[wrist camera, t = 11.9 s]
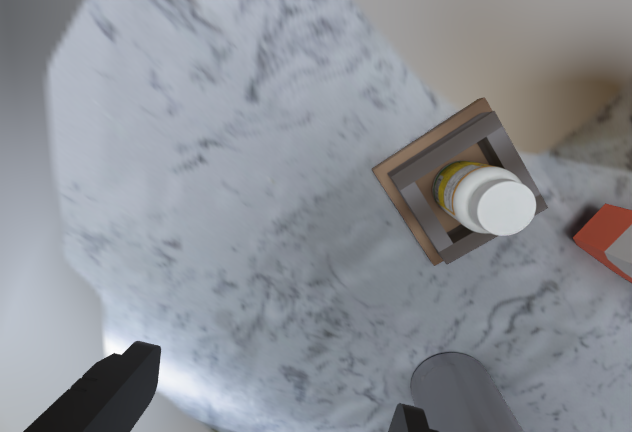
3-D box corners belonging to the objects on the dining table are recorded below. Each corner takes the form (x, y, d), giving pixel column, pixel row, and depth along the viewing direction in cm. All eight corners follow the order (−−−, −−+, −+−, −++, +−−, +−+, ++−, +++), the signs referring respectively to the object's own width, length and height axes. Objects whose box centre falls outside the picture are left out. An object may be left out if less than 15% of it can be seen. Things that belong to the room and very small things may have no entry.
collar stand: (535, 201, 34) (564, 211, 29) (430, 260, 36) (442, 278, 32) (478, 99, 32) (499, 93, 27) (371, 168, 34) (375, 174, 30)
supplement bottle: (420, 182, 33) (451, 201, 23) (467, 148, 32) (520, 153, 22) (451, 224, 33) (493, 259, 24) (498, 192, 32) (562, 215, 23)
